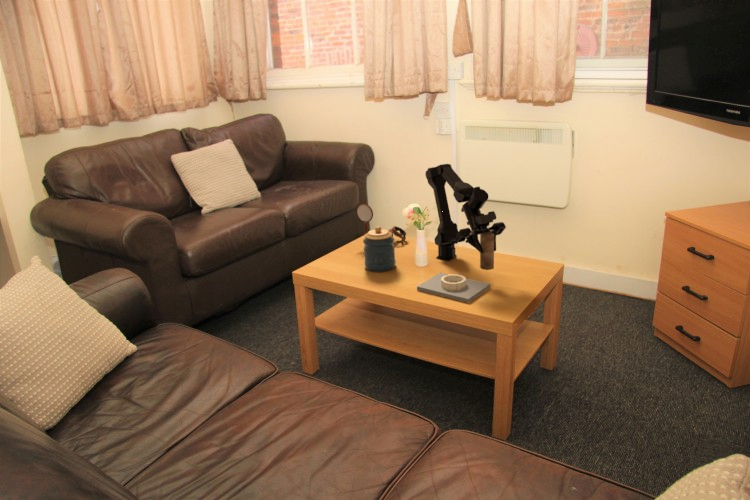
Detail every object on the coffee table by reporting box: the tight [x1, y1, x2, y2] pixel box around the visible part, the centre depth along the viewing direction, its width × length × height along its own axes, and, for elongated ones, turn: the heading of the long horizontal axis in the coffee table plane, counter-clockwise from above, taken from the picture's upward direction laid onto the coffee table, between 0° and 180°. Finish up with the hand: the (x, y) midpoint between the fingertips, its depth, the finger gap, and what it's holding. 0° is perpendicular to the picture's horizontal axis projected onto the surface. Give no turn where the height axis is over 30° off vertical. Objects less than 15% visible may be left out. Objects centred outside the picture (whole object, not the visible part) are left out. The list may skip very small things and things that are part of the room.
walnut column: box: [479, 232, 495, 271], centre depth 218 cm, size 5×5×13 cm
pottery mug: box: [387, 225, 407, 244], centre depth 274 cm, size 12×10×8 cm
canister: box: [362, 225, 397, 273], centre depth 243 cm, size 13×13×18 cm
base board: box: [416, 272, 491, 304], centre depth 220 cm, size 22×16×4 cm
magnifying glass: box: [356, 203, 374, 239], centre depth 269 cm, size 9×2×20 cm, turn 57°
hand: (489, 251), depth 217 cm, fingers closed on walnut column, 5 cm apart
